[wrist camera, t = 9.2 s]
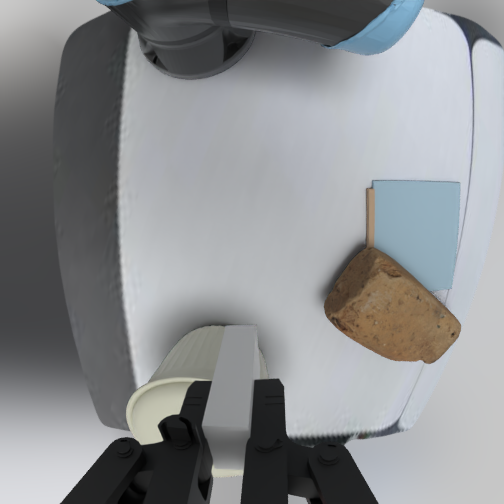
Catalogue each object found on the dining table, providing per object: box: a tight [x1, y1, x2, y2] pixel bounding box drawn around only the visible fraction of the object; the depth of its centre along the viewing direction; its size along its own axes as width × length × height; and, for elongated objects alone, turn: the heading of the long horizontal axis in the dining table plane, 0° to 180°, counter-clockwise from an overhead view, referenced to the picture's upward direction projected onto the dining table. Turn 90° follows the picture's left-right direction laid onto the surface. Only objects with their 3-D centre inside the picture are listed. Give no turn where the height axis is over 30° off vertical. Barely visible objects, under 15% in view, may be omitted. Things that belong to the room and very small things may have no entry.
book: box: [366, 181, 460, 291], centre depth 39 cm, size 16×15×1 cm
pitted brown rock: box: [324, 247, 461, 364], centre depth 38 cm, size 11×8×20 cm
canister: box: [126, 325, 269, 477], centre depth 36 cm, size 18×18×21 cm
